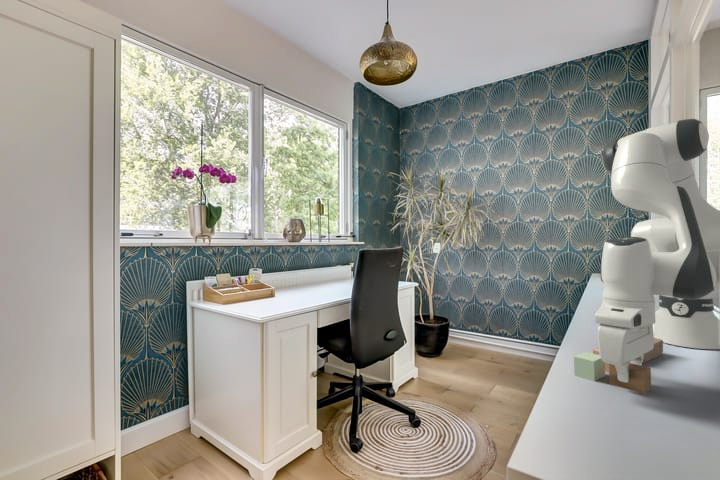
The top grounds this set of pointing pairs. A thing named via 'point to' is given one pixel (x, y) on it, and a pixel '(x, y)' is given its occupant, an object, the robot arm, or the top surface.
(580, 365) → the sage block
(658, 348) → the brick
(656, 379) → the top surface
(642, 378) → the walnut block
